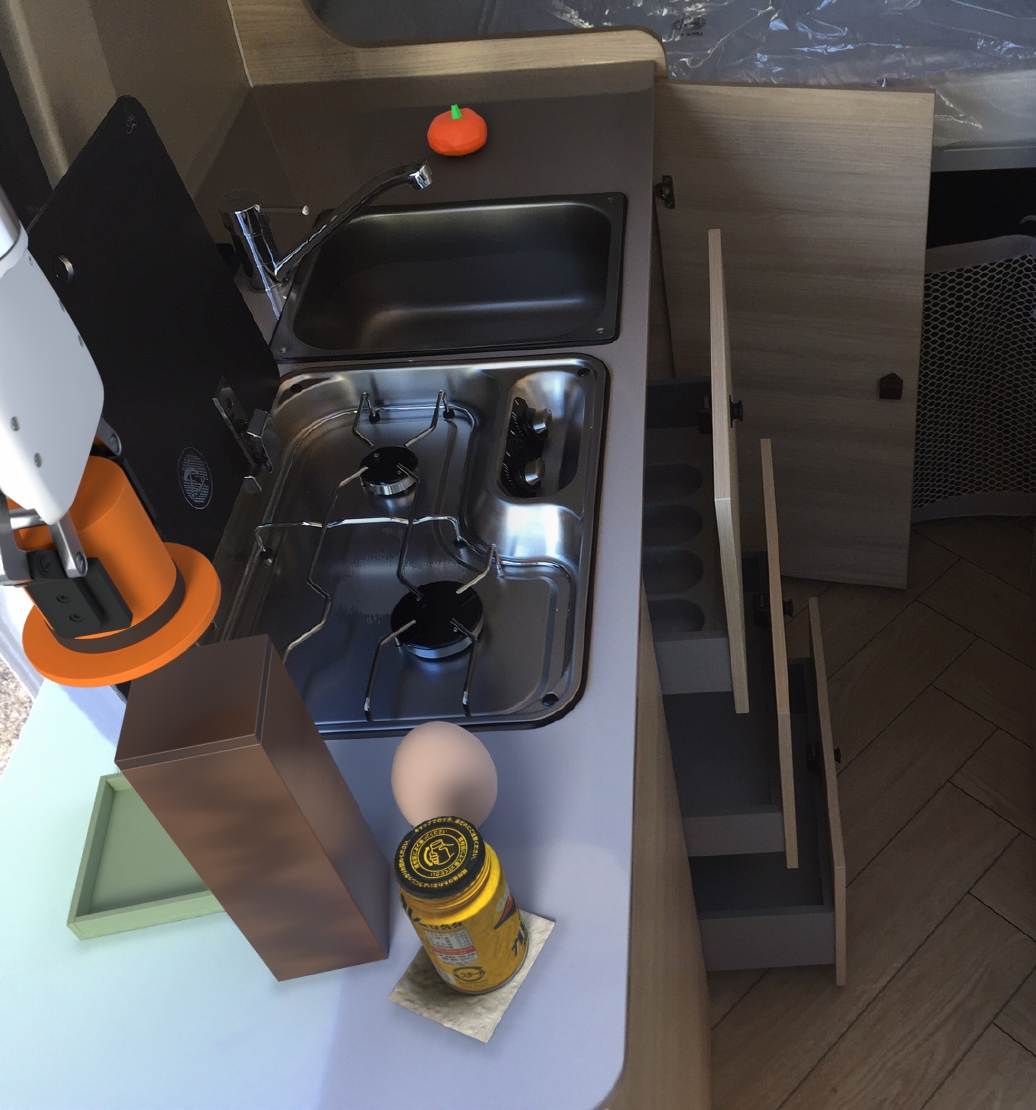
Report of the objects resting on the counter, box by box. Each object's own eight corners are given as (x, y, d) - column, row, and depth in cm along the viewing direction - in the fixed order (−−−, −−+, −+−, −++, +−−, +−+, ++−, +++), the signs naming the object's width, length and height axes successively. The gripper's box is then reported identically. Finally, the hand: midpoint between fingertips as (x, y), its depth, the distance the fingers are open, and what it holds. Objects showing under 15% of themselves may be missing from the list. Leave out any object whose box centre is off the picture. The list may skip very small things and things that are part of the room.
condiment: (556, 924, 78) (518, 822, 70) (487, 1044, 73) (437, 950, 65) (462, 888, 81) (414, 785, 72) (388, 1002, 76) (328, 905, 67)
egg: (413, 871, 82) (372, 790, 75) (412, 790, 87) (372, 706, 80) (513, 849, 83) (480, 766, 76) (506, 769, 87) (475, 685, 81)
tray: (80, 940, 80) (65, 925, 79) (112, 792, 89) (100, 775, 87) (263, 903, 81) (251, 887, 80) (278, 760, 90) (268, 743, 88)
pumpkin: (422, 154, 159) (409, 106, 154) (476, 134, 162) (465, 87, 157) (447, 173, 154) (434, 124, 150) (502, 152, 157) (491, 104, 153)
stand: (278, 982, 77) (112, 761, 60) (286, 885, 82) (136, 657, 65) (388, 958, 78) (255, 734, 61) (390, 864, 83) (267, 632, 66)
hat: (8, 705, 55) (-82, 590, 49) (47, 568, 61) (-29, 453, 56) (211, 666, 56) (144, 549, 50) (229, 535, 62) (171, 419, 57)
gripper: (-131, 143, 50) (68, 473, 62) (-310, 388, 38) (-18, 737, 50) (57, 117, 50) (216, 449, 63) (-59, 350, 38) (167, 703, 51)
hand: (110, 574), depth 57 cm, fingers closed on hat, 6 cm apart
